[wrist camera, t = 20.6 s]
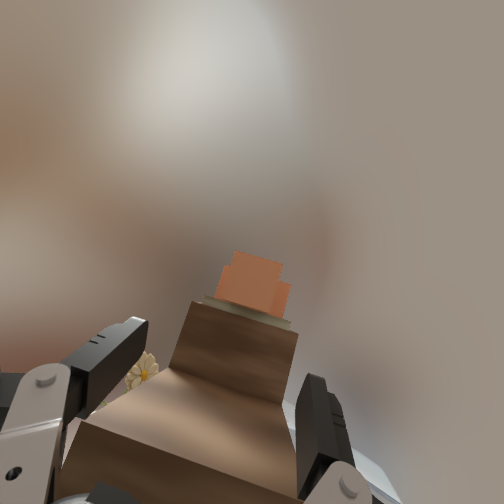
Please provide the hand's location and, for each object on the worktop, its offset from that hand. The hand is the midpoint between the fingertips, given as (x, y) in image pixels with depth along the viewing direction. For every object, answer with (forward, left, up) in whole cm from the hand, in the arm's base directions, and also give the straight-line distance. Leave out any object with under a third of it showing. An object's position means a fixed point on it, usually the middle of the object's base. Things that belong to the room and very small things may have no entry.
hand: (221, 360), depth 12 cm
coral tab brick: (+11, +11, +3) cm, 16 cm away
